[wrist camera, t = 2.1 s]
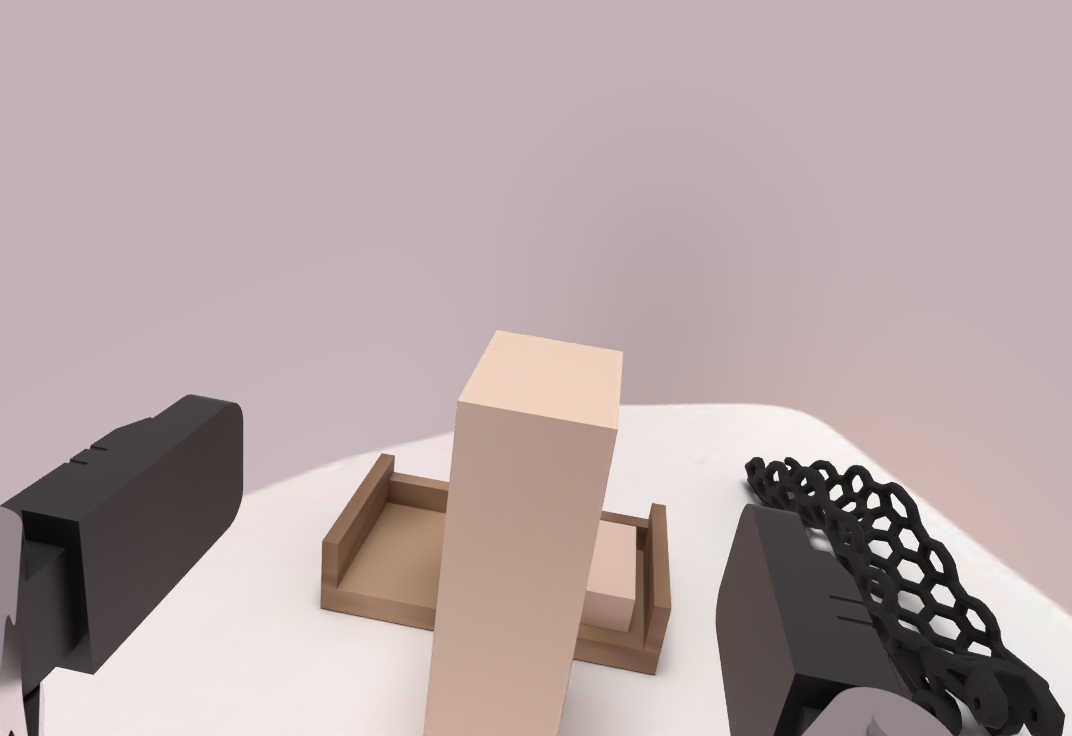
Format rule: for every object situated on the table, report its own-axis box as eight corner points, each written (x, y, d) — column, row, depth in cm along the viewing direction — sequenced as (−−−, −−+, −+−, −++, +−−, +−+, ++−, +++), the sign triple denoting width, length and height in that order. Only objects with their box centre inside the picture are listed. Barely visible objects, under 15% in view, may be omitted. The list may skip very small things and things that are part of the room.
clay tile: (629, 556, 38) (636, 526, 37) (627, 632, 33) (635, 599, 32) (544, 540, 38) (549, 510, 38) (529, 613, 33) (534, 580, 33)
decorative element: (724, 486, 49) (745, 405, 47) (794, 486, 50) (818, 407, 48) (961, 804, 29) (1017, 689, 27) (1069, 793, 30) (1132, 682, 28)
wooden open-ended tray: (652, 562, 40) (665, 505, 39) (654, 675, 33) (671, 608, 31) (378, 511, 41) (381, 453, 40) (320, 607, 34) (322, 541, 32)
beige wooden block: (559, 683, 31) (622, 351, 26) (542, 813, 26) (617, 429, 20) (457, 662, 32) (496, 330, 26) (418, 787, 26) (457, 400, 21)
